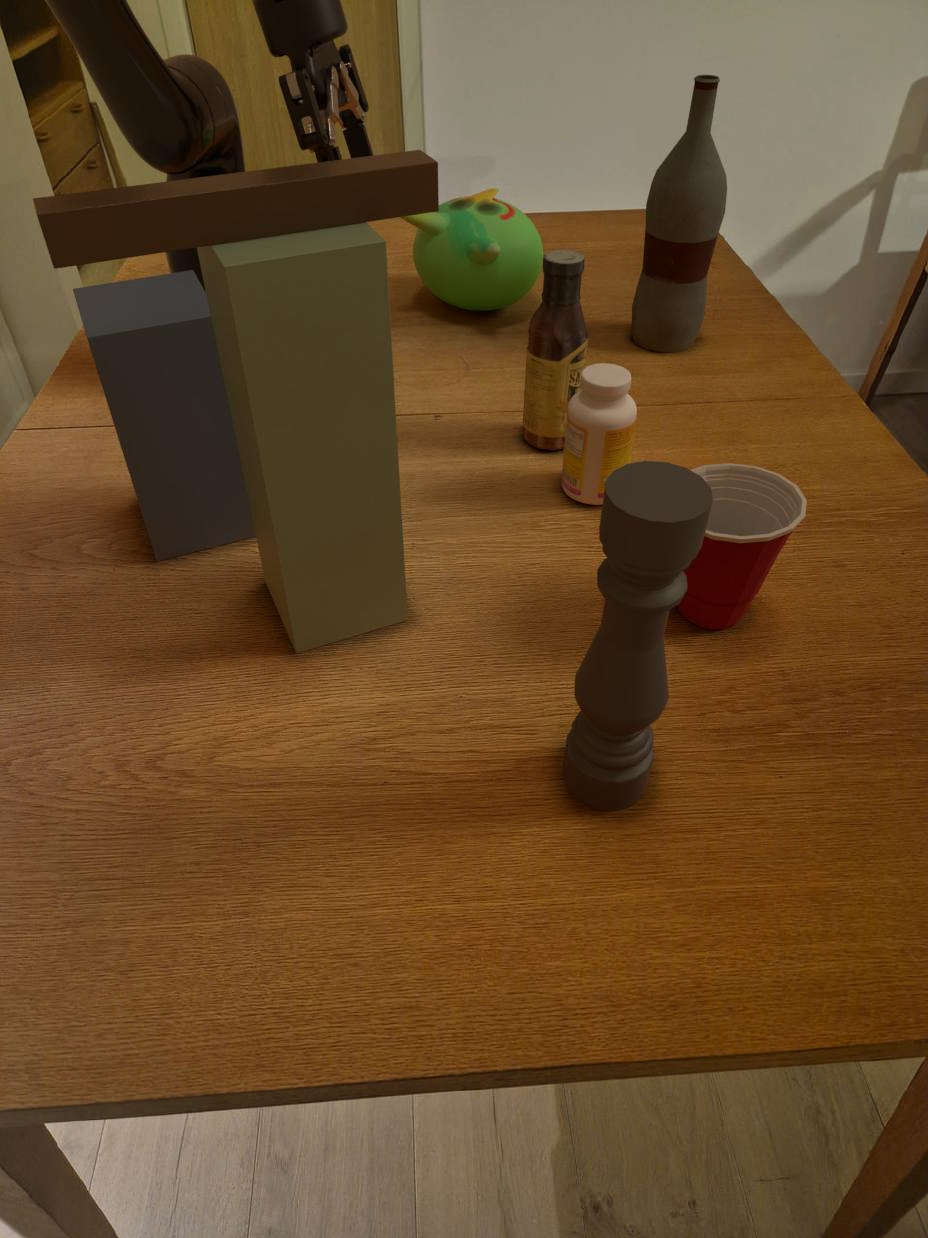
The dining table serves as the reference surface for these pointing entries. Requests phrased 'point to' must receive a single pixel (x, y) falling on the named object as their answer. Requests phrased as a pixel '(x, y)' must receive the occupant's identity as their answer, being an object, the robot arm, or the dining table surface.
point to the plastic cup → (738, 541)
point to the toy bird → (477, 252)
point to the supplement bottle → (597, 431)
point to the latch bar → (235, 207)
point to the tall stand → (315, 422)
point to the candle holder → (632, 628)
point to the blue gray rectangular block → (169, 409)
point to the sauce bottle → (555, 351)
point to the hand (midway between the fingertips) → (353, 178)
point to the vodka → (681, 232)
